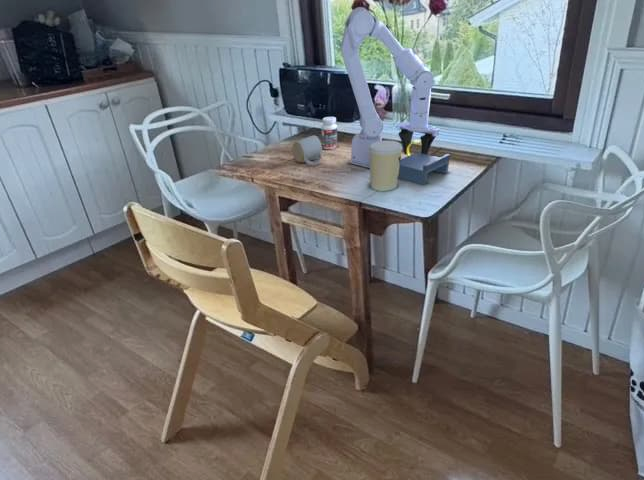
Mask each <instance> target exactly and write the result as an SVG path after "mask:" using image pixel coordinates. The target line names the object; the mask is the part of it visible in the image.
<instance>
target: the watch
mask: <svg viewBox="0 0 644 480" xmlns="http://www.w3.org/2000/svg"><path fill="white" fill-rule="evenodd" d="M412 145H415V146H420V147H421V139H414V140H412V141H411V143H410V144H409V145H408V146H407V150H406V152H407V154H406V157H407V156H409V155H411V153H410V152H411V151H410V152H409V148H410V146H412ZM410 149H411V148H410Z"/></svg>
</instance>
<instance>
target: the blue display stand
mask: <svg viewBox="0 0 644 480" xmlns="http://www.w3.org/2000/svg"><path fill="white" fill-rule="evenodd" d="M450 158H451V154H449V153H446V154H444V155H441V156H440V157H439V156H435V155H431V154H427V155H426V154H422V153H421V152H414V153H412V154H410V155H409V156H407V155H406V156H405V157H403V158H401V160H400V167H399V174H398V179H402V180H406V181H410V182H414V183H418V184H421V185H426V184H427V183H428V174H429V173H431V172H437V173H441V174H447V173H449V165H450V160H451V159H450Z"/></svg>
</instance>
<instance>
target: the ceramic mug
mask: <svg viewBox="0 0 644 480" xmlns="http://www.w3.org/2000/svg"><path fill="white" fill-rule="evenodd" d="M291 149H292V155H293V158H294V160H295V161H296V163H297V162H298V163H301V164H302V163H306V164H307V165H309V166H312V167H315V166H318V165H320V164H321V163H322V154H323V148H322V146H321V139H319V137H318V136H317V135H314V134H313V135H309V136H307V137H305V138H302V139H298V140H296V141H295V142H294V143H293V144H292V148H291ZM318 159H319V160H318ZM313 160H317V161H313Z"/></svg>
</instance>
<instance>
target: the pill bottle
mask: <svg viewBox="0 0 644 480" xmlns="http://www.w3.org/2000/svg"><path fill="white" fill-rule="evenodd" d="M336 122H337V117H335V116H325V117H323V118H322V124H321V125H320V130H321V132H320V143H321V146H322V149H324V150H332V149H335V148H337V146H338V125H337V124H336Z"/></svg>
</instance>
